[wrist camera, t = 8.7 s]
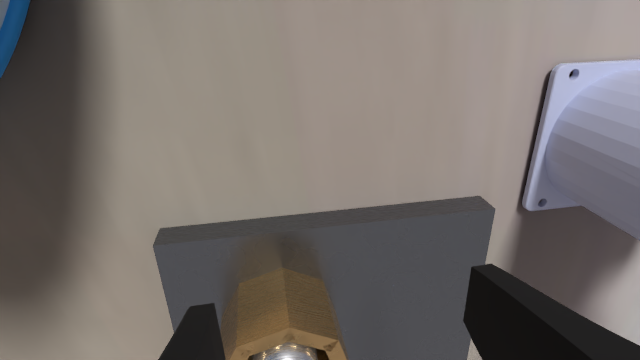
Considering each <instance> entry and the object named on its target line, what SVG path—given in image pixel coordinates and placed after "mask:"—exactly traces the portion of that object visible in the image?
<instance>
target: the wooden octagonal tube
mask: <svg viewBox="0 0 640 360" xmlns="http://www.w3.org/2000/svg"><path fill="white" fill-rule="evenodd" d="M220 333H221V338H222V343H223V348H224V353H225V358H226V360H252V355H254V354H257V353H259V352H262V351H265V350H267V349H270V348H273V347H276V346H278V345H281V344H284V343H286V342H293V343H297V344H301V345H305V346H309V347H313V348H316V352H317V358H318V360H349V358H348V354H347V351H346V347H345V343H344V340H343V336H342V333H341V329H340V325H339V322H338V318H337V315H336V311H335V309H334V306H333V304H332V301H331V299H330V296H329V294H328V291H327V289H326V287H325V284H324V282H323V280H321V279H317V278H314V277H311V276H308V275H304V274H301V273H298V272H295V271H292V270H288V269H285V268H280V269H277V270H275V271H272V272H269V273H267V274H264V275H261V276H258V277H256V278H253V279H250V280H248V281H245V282H242V283H239V285H238V287H237V288H236V290H235V292H234V294H233V296H232V298H231V300H230V302H229V304H228V306H227V308H226V310H225V312H224V314H223V316H222V319H221V330H220Z"/></svg>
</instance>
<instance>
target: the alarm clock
mask: <svg viewBox="0 0 640 360" xmlns="http://www.w3.org/2000/svg"><path fill="white" fill-rule="evenodd" d="M29 4H30V0H0V79H1V77H2V75H3V73H4V71H5V69H6V67H7V65H8V63H9V61H10V59H11V57H12V54H13V52H14V50H15V47H16V45H17V42H18V40H19V37H20V34H21V31H22V28H23V25H24V22H25V19H26V15H27V11H28V8H29Z"/></svg>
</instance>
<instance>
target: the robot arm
mask: <svg viewBox="0 0 640 360" xmlns="http://www.w3.org/2000/svg"><path fill="white" fill-rule="evenodd" d="M572 70H573V74H572V76H571V77H570V78H569V74H570V72H571V71H572ZM541 199H542V200H541ZM540 200H541V202H540V203H539V201H540ZM522 205H523V207H524V208H525V209H527V210H528V211H538V210H547V209H556V208H565V207H574V206H583V207H585V208H587V209H588V210H590V211H591V212H593V213H595V214H596V215H598V216H600V217H601V218H603V219H605V220H606V221H608V222H610V223H611V224H613V225H615V226H616V227H618V228H620V229H621V230H623V231H625V232H626V233H628V234H630V235H631V236H633V237H635V238H636V239H638V240H639V241H640V59H635V60H616V61H597V62H578V63H561V64H558V65H557V66H555V67H554V68H553V70H552V72H551V74H550V78H549V83H548V88H547V92H546V97H545V101H544V106H543V110H542V115H541V119H540V124H539V128H538V133H537V137H536V142H535V146H534V151H533V155H532V160H531V164H530V169H529V173H528V178H527V182H526V187H525V191H524V196H523V200H522ZM463 322H464V324H465V326H466V328H467V330H468V332H469V334H470V336H471V339H472V341H473V343H474V344H475V346H476V348H477V350H478V352H479V354H480V356H481V357H482V359H483V360H640V346H639V345H637V344H635V343H633V342H631V341H629V340H627V339H625V338H623V337H621V336H619V335H617V334H615V333H613V332H611V331H609V330H607V329H605V328H604V327H602V326H600V325H598V324H596V323H594V322H592V321H590V320H588V319H587V318H585V317H583V316H581V315H579V314H578V313H576V312H574V311H572V310H570V309H569V308H567V307H565V306H563V305H562V304H560V303H558V302H556V301H555V300H553V299H551V298H550V297H548V296H546V295H545V294H543V293H541V292H539V291H538V290H536V289H534V288H533V287H531V286H529V285H528V284H526V283H524V282H523V281H521V280H519V279H517V278H516V277H514V276H512V275H511V274H509V273H507V272H505V271H504V270H502V269H500V268H498V267H496V266H494V265H493V264H487V265H479V266H472V267H471V272H470V279H469V285H468V292H467V298H466V305H465V311H464V318H463ZM158 360H226V358H225V353H224V348H223V343H222V338H221V333H220V328H219V324H218V319H217V314H216V309H215V304H214V303H209V304H202V305H195V306H190V307H189V308H188V309H187V311H186V313H185V315H184V316H183V318H182V320H181V322H180V324H179V326H178V327H177V329H176V331H175V333H174V334H173V336H172V338H171V340H170V341H169V343H168V345H167V346H166V348H165V350H164V351H163V353H162V355H161V356H160V358H159V359H158Z"/></svg>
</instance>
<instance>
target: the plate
mask: <svg viewBox="0 0 640 360" xmlns="http://www.w3.org/2000/svg"><path fill="white" fill-rule="evenodd" d="M494 214H495V208H494V207H492V206H491V205H490V204H489V203H488V202H486V201H485V200H484V199H483V198H482V197H480V196H475V197H465V198H456V199H446V200H436V201H426V202H416V203H407V204H397V205H387V206H377V207H367V208H358V209H348V210H338V211H328V212H318V213H309V214H299V215H289V216H279V217H269V218H260V219H250V220H240V221H230V222H220V223H211V224H201V225H191V226H181V227H171V228H162V229H160V230H159V232H158V234H157V237H156V239H155V242H154V244H153V248H154V252H155V256H156V260H157V265H158V269H159V273H160V277H161V281H162V285H163V289H164V293H165V297H166V301H167V305H168V309H169V313H170V317H171V321H172V325H173V330H174V333H175V331H176V329H177V327H178V326H179V324H180V322H181V320H182V318H183V316H184V315H185V313H186V311H187V309H188V308H189V307H190V306H195V305H202V304H209V303H214V304H215V309H216V314H217V319H218V324H219V328H220V330H221V319H222V316H223V314H224V312H225V310H226V308H227V306H228V304H229V302H230V300H231V298H232V296H233V294H234V292H235V290H236V288H237V287H238V285H239V283H242V282H245V281H248V280H250V279H253V278H256V277H258V276H261V275H264V274H267V273H269V272H272V271H275V270H277V269H280V268H285V269H288V270H292V271H295V272H298V273H301V274H304V275H308V276H311V277H314V278H317V279H321V280H323V282H324V284H325V287H326V289H327V291H328V294H329V296H330V299H331V301H332V304H333V306H334V309H335V311H336V315H337V318H338V322H339V325H340V329H341V333H342V336H343V340H344V343H345V347H346V351H347V354H348V358H349V360H467V356H468V350H469V345H470V340H471V336H470V334H469V332H468V330H467V328H466V326H465V324H464V322H463V318H464V311H465V305H466V298H467V292H468V285H469V279H470V272H471V267H472V266H479V265H485V261H486V256H487V250H488V245H489V240H490V235H491V229H492V224H493V219H494ZM252 360H318V358H317V352H316V348H313V347H309V346H305V345H301V344H297V343H293V342H286V343H284V344H281V345H278V346H276V347H273V348H270V349H267V350H265V351H262V352H259V353H257V354H254V355H252Z"/></svg>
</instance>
